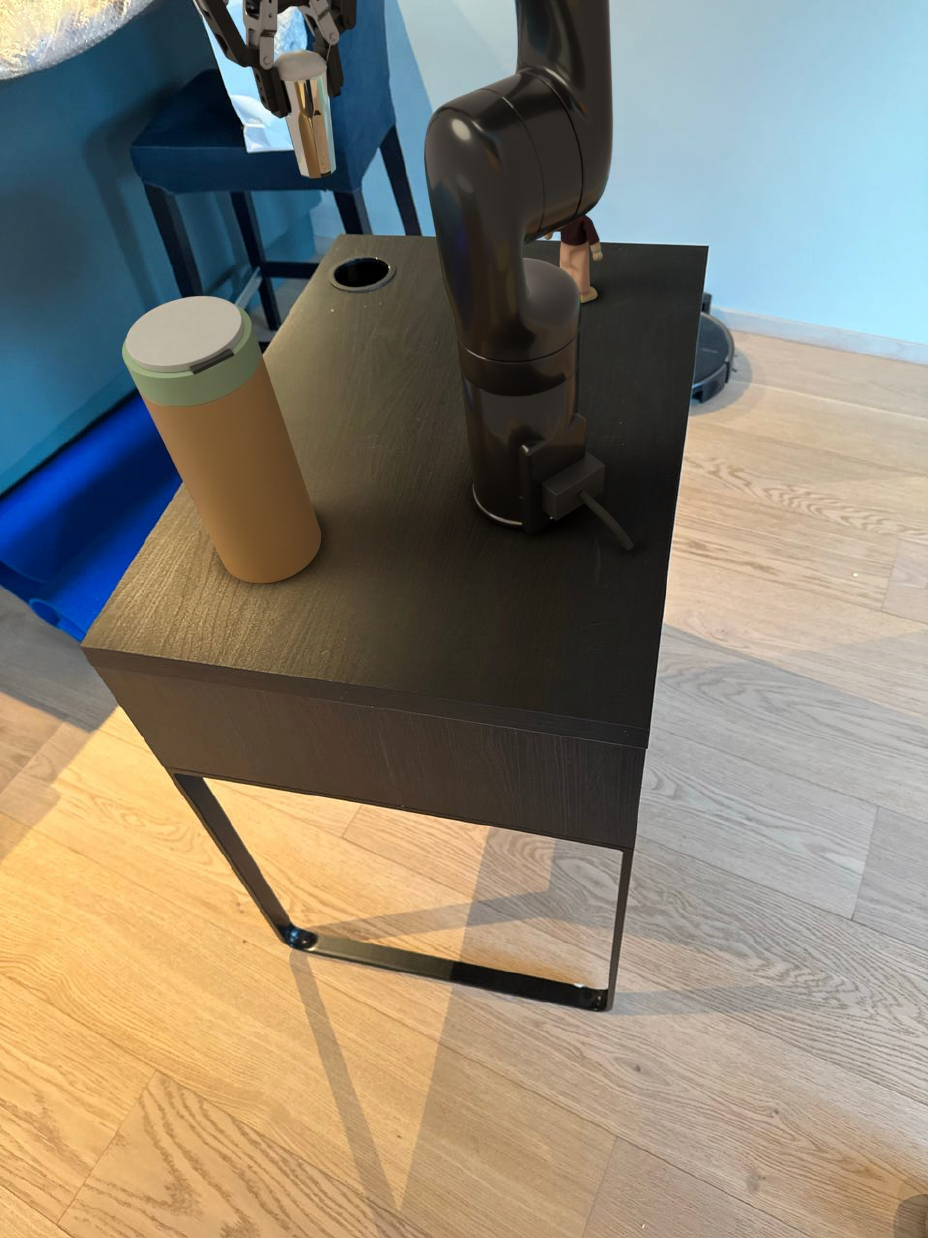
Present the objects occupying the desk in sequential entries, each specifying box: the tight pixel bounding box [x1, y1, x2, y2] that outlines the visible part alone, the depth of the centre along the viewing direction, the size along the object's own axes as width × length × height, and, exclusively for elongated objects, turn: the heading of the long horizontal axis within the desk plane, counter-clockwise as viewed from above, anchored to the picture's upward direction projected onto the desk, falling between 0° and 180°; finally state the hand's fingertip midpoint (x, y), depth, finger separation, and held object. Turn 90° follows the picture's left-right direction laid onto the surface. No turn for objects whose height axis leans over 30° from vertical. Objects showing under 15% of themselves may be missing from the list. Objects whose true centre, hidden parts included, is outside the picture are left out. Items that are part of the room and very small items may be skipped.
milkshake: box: [273, 37, 337, 179], centre depth 71 cm, size 4×5×10 cm
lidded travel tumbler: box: [121, 295, 322, 584], centre depth 66 cm, size 9×9×22 cm
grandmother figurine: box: [543, 214, 604, 304], centre depth 89 cm, size 8×4×13 cm, turn 58°
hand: (306, 103), depth 71 cm, fingers closed on milkshake, 4 cm apart
